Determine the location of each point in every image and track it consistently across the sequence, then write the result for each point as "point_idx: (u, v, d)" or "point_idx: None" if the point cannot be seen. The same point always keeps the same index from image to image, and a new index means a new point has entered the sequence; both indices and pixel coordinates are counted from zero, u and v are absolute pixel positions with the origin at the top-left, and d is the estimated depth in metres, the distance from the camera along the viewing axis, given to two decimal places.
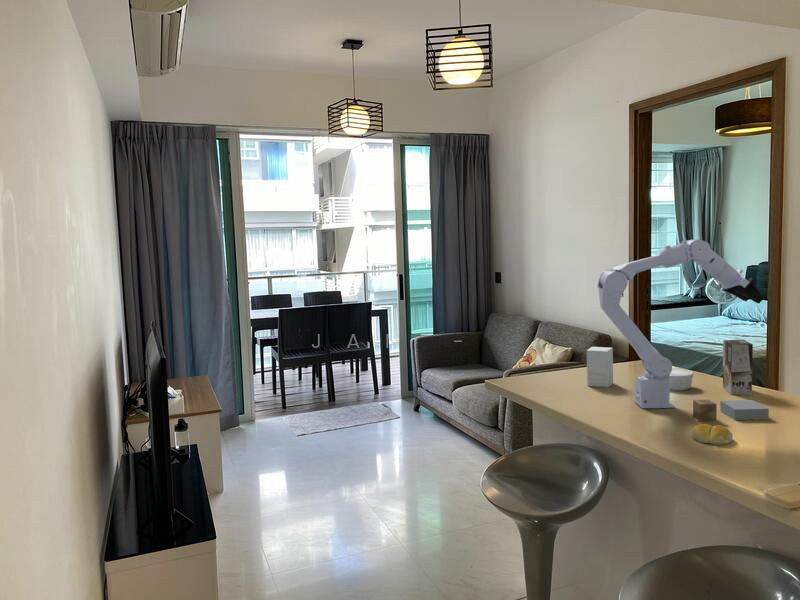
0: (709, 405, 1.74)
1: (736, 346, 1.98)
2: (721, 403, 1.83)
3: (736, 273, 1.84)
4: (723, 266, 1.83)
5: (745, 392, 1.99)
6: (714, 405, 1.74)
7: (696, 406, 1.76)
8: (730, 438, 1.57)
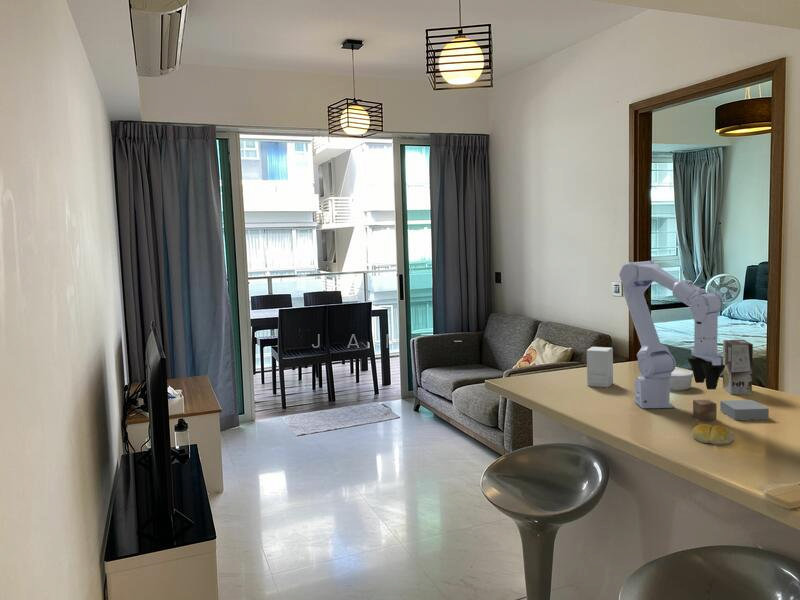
0: (709, 405, 1.74)
1: (736, 346, 1.98)
2: (721, 403, 1.83)
3: (715, 351, 1.72)
4: (701, 336, 1.72)
5: (745, 392, 1.99)
6: (714, 405, 1.74)
7: (696, 406, 1.76)
8: (730, 438, 1.57)
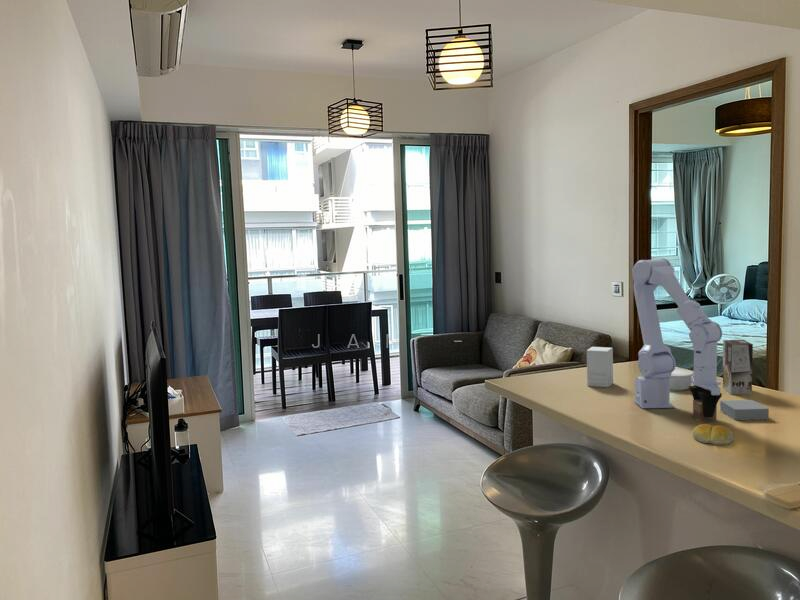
0: None
1: (736, 346, 1.98)
2: (721, 403, 1.83)
3: (715, 380, 1.73)
4: (700, 365, 1.73)
5: (745, 392, 1.99)
6: None
7: (696, 406, 1.76)
8: (731, 438, 1.57)
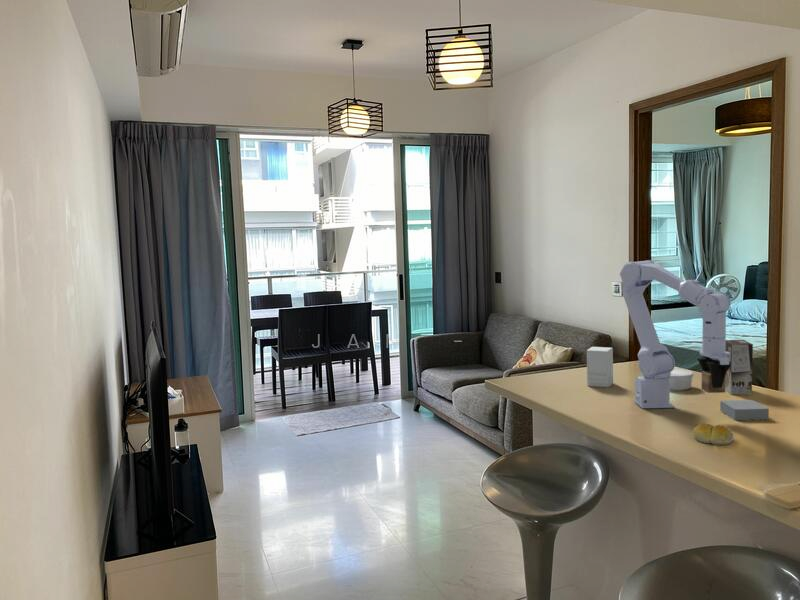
0: None
1: (736, 346, 1.98)
2: (721, 403, 1.83)
3: (723, 351, 1.73)
4: (711, 335, 1.72)
5: (745, 392, 1.99)
6: None
7: (705, 377, 1.76)
8: (731, 438, 1.57)
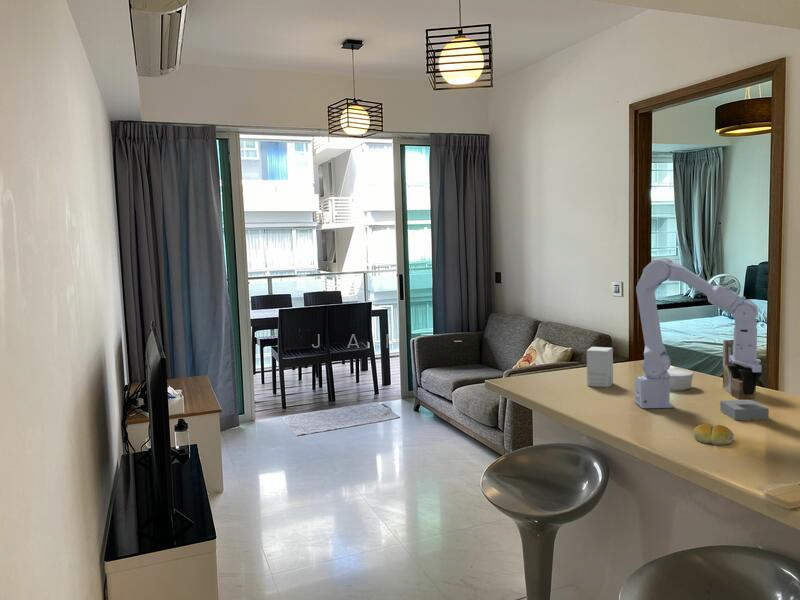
0: None
1: None
2: (721, 403, 1.83)
3: (755, 358, 1.75)
4: (747, 343, 1.74)
5: None
6: None
7: (735, 384, 1.78)
8: (731, 438, 1.57)
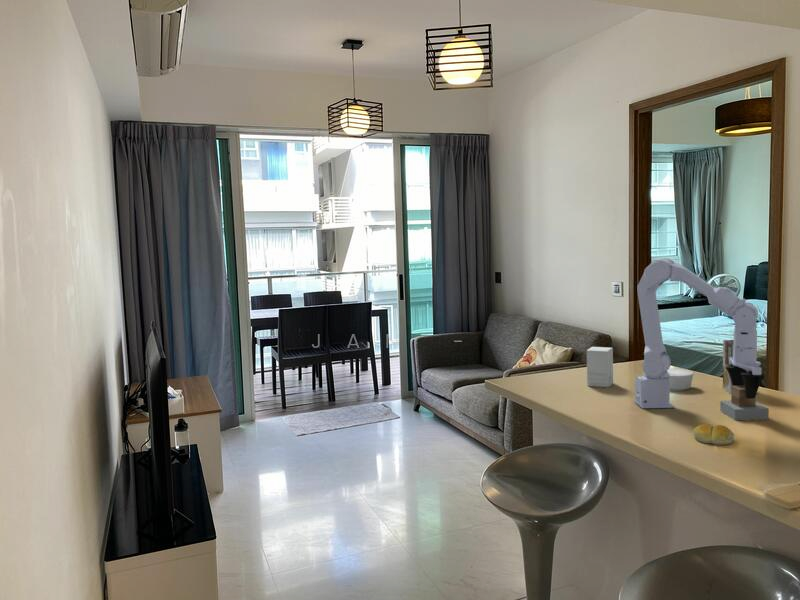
0: None
1: None
2: (721, 403, 1.83)
3: (755, 361, 1.75)
4: (747, 346, 1.74)
5: None
6: None
7: (735, 391, 1.78)
8: (732, 438, 1.57)
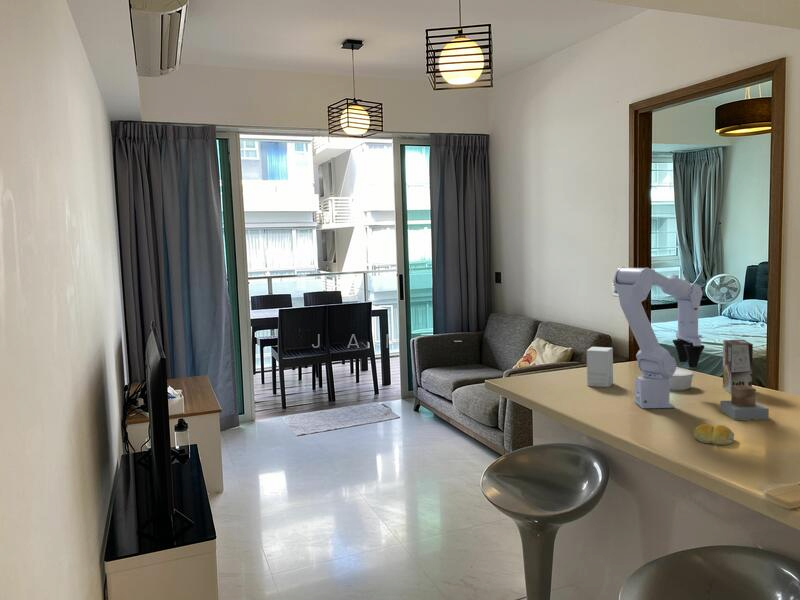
0: (748, 390, 1.76)
1: (736, 346, 1.98)
2: (721, 403, 1.83)
3: (696, 334, 1.95)
4: (697, 320, 1.95)
5: None
6: (753, 390, 1.76)
7: (735, 391, 1.78)
8: (732, 438, 1.57)
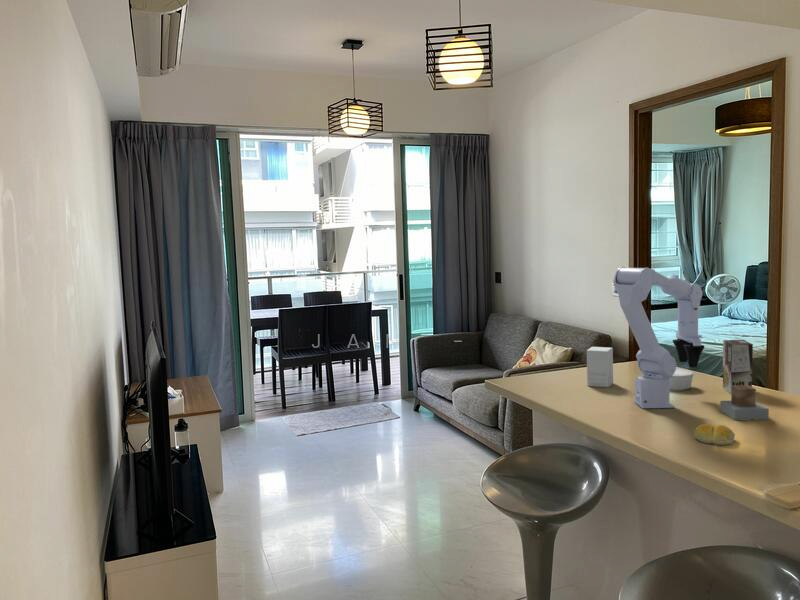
0: (748, 390, 1.76)
1: (736, 346, 1.98)
2: (721, 403, 1.83)
3: (696, 334, 1.95)
4: (697, 320, 1.95)
5: None
6: (753, 390, 1.76)
7: (735, 391, 1.78)
8: (732, 438, 1.57)
